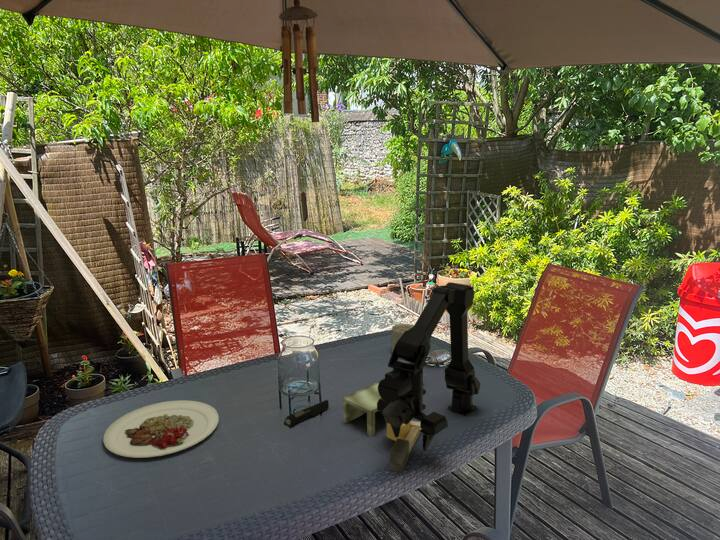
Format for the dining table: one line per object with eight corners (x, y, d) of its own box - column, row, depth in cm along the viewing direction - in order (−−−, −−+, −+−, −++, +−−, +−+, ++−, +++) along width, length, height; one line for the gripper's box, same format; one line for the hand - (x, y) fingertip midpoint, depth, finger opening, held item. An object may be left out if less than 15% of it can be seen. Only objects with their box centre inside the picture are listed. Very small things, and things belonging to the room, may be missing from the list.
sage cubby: (384, 401, 156) (384, 378, 155) (412, 413, 149) (412, 389, 147) (343, 422, 144) (342, 397, 143) (371, 436, 137) (370, 411, 135)
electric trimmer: (331, 411, 152) (331, 401, 151) (290, 429, 142) (290, 419, 141) (323, 406, 154) (323, 397, 154) (283, 424, 144) (282, 414, 143)
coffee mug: (400, 359, 189) (400, 333, 187) (386, 350, 197) (386, 326, 195) (429, 352, 195) (430, 327, 193) (415, 344, 203) (415, 320, 201)
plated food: (166, 398, 161) (165, 388, 160) (241, 418, 148) (240, 407, 147) (78, 446, 135) (77, 434, 134) (160, 475, 122) (159, 462, 121)
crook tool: (423, 431, 139) (423, 414, 138) (401, 472, 121) (401, 453, 120) (397, 426, 142) (397, 409, 141) (372, 465, 124) (372, 447, 123)
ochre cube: (397, 430, 140) (397, 415, 139) (410, 436, 137) (410, 421, 136) (386, 437, 137) (386, 422, 136) (399, 443, 133) (399, 428, 132)
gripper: (361, 385, 126) (362, 442, 129) (420, 411, 113) (419, 473, 117) (391, 372, 134) (391, 425, 137) (449, 394, 121) (448, 453, 124)
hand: (410, 443), depth 129 cm, fingers open, 9 cm apart
